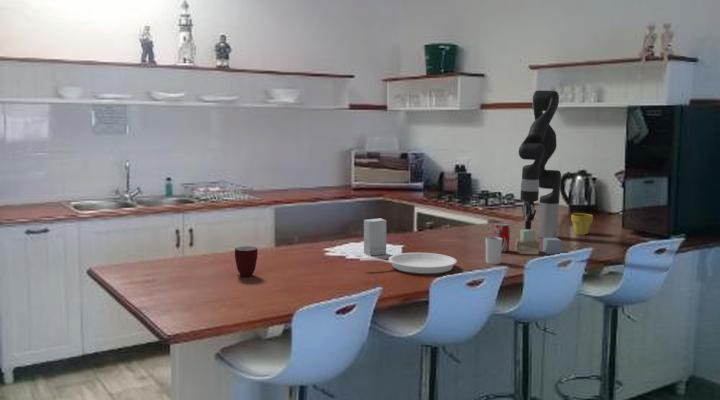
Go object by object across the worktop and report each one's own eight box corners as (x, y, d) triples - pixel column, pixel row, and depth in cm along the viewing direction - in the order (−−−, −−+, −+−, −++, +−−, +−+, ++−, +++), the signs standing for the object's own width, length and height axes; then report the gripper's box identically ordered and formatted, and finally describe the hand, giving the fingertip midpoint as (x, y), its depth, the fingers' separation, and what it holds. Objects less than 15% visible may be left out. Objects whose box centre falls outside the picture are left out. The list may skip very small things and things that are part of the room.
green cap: (519, 240, 290) (520, 229, 289) (531, 240, 290) (531, 229, 289) (523, 242, 285) (523, 231, 284) (534, 242, 285) (535, 231, 284)
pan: (468, 274, 247) (468, 261, 246) (369, 280, 236) (370, 267, 235) (440, 259, 272) (440, 248, 271) (350, 264, 261) (350, 252, 260)
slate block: (542, 251, 291) (543, 237, 290) (556, 251, 291) (556, 237, 291) (547, 253, 285) (547, 240, 284) (560, 254, 285) (561, 240, 285)
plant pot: (591, 236, 330) (592, 216, 328) (570, 234, 333) (571, 215, 332) (591, 232, 339) (593, 214, 338) (570, 231, 343) (571, 212, 342)
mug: (226, 274, 240) (225, 247, 238) (243, 270, 246) (243, 244, 244) (244, 279, 233) (244, 251, 231) (262, 275, 239) (262, 248, 238)
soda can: (509, 253, 285) (510, 225, 284) (492, 252, 287) (493, 225, 285) (508, 249, 292) (509, 223, 291) (492, 249, 293) (493, 222, 292)
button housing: (515, 250, 292) (515, 239, 291) (533, 250, 292) (533, 239, 291) (520, 253, 284) (520, 242, 283) (538, 254, 284) (539, 242, 283)
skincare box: (380, 252, 283) (380, 217, 282) (386, 254, 278) (387, 220, 276) (362, 253, 280) (363, 218, 278) (369, 256, 274) (369, 221, 273)
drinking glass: (498, 265, 262) (499, 240, 260) (482, 262, 265) (483, 238, 264) (503, 262, 267) (504, 237, 266) (488, 260, 271) (489, 236, 269)
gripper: (543, 191, 278) (541, 231, 280) (533, 188, 291) (531, 226, 293) (525, 191, 278) (523, 231, 280) (516, 187, 291) (515, 226, 293)
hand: (527, 229), depth 286 cm, fingers closed
